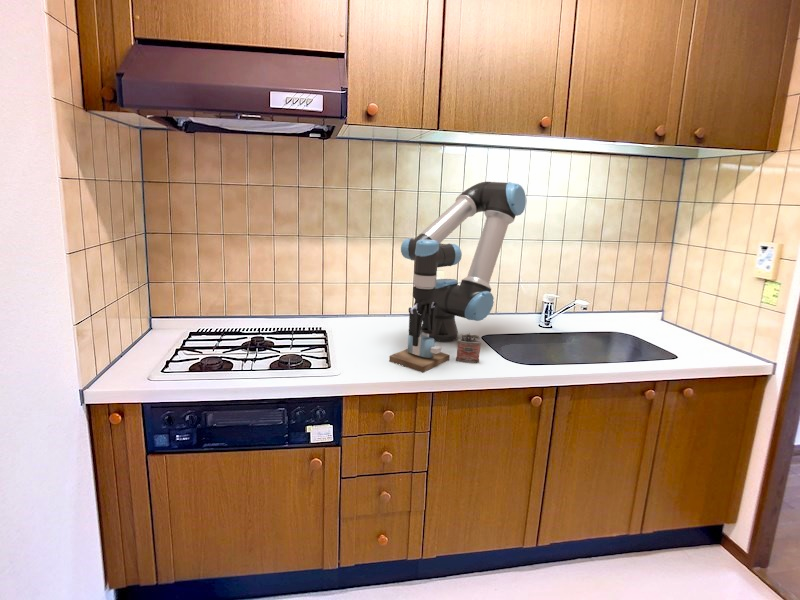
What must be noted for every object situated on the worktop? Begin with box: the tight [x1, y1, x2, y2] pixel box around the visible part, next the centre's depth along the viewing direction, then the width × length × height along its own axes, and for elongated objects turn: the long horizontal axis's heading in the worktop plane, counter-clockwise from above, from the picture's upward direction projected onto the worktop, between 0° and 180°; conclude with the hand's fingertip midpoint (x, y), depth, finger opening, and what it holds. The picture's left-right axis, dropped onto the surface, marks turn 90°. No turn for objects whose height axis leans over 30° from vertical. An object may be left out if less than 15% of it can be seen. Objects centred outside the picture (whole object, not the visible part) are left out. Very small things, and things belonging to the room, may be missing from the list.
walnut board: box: [389, 348, 451, 373], centre depth 172 cm, size 16×14×2 cm
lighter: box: [455, 332, 482, 364], centre depth 173 cm, size 8×3×10 cm, turn 82°
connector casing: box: [407, 334, 442, 358], centre depth 170 cm, size 4×12×6 cm, turn 52°
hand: (420, 352), depth 171 cm, fingers closed on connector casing, 4 cm apart
